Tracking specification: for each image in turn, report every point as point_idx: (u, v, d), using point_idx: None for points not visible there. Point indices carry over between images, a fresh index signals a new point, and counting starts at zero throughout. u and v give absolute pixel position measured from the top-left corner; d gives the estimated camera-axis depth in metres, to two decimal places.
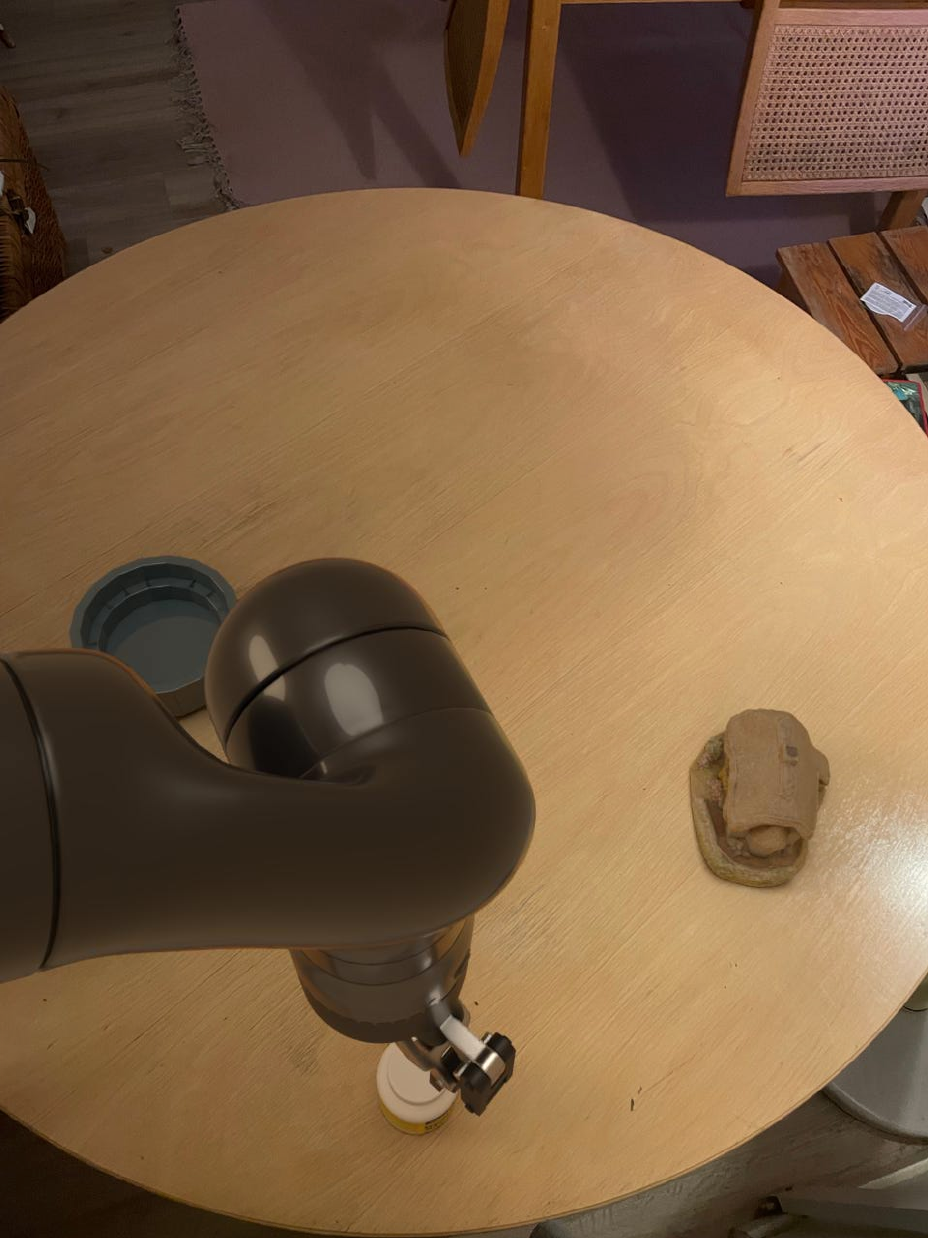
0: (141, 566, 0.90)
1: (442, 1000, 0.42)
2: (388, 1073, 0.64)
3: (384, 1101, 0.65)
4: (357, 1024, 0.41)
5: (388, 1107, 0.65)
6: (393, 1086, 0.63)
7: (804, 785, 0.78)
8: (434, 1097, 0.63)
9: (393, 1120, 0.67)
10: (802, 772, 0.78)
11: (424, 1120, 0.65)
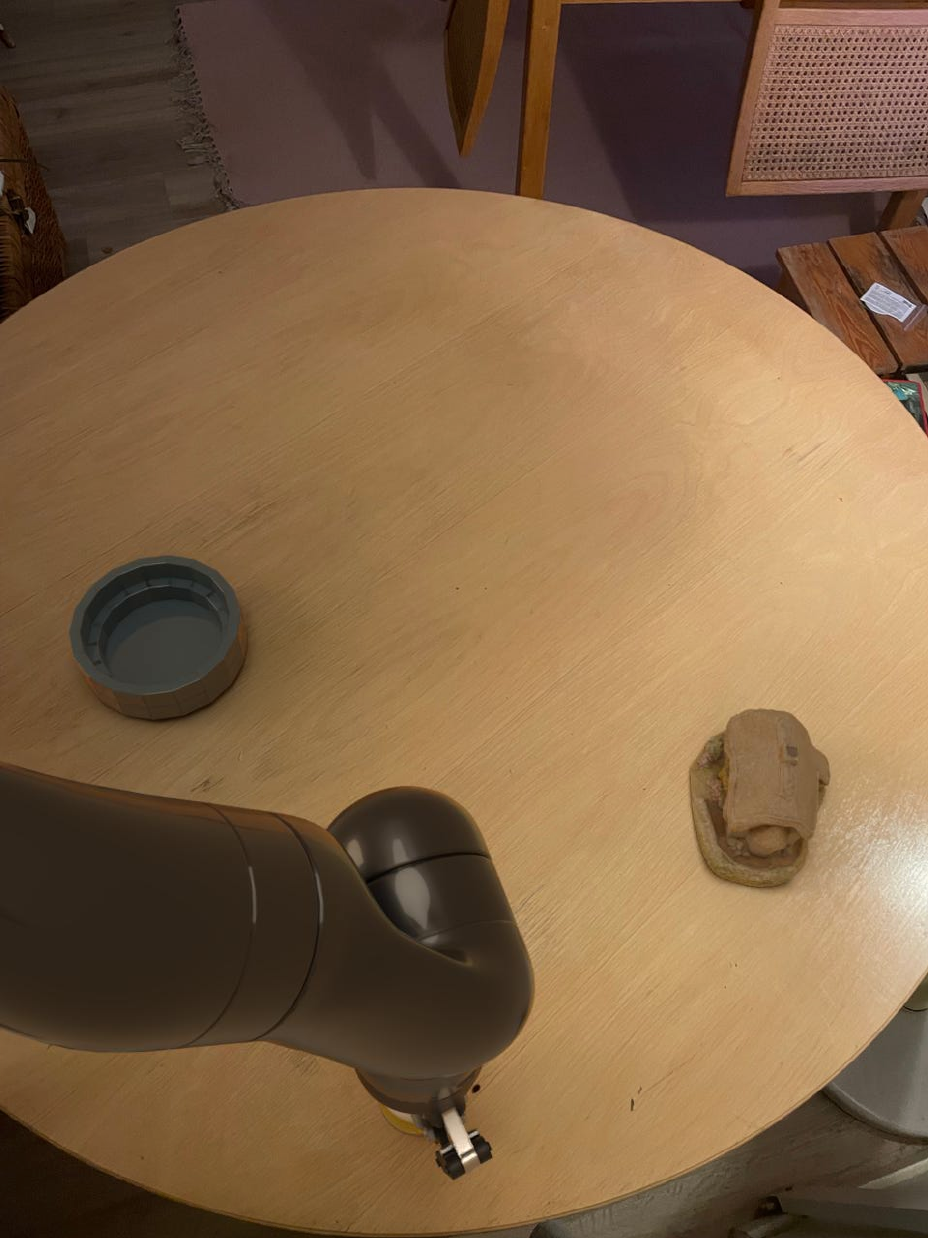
0: (141, 566, 0.90)
1: (444, 1099, 0.52)
2: None
3: None
4: (376, 1091, 0.52)
5: None
6: None
7: (804, 785, 0.78)
8: None
9: (393, 1120, 0.67)
10: (802, 772, 0.78)
11: None
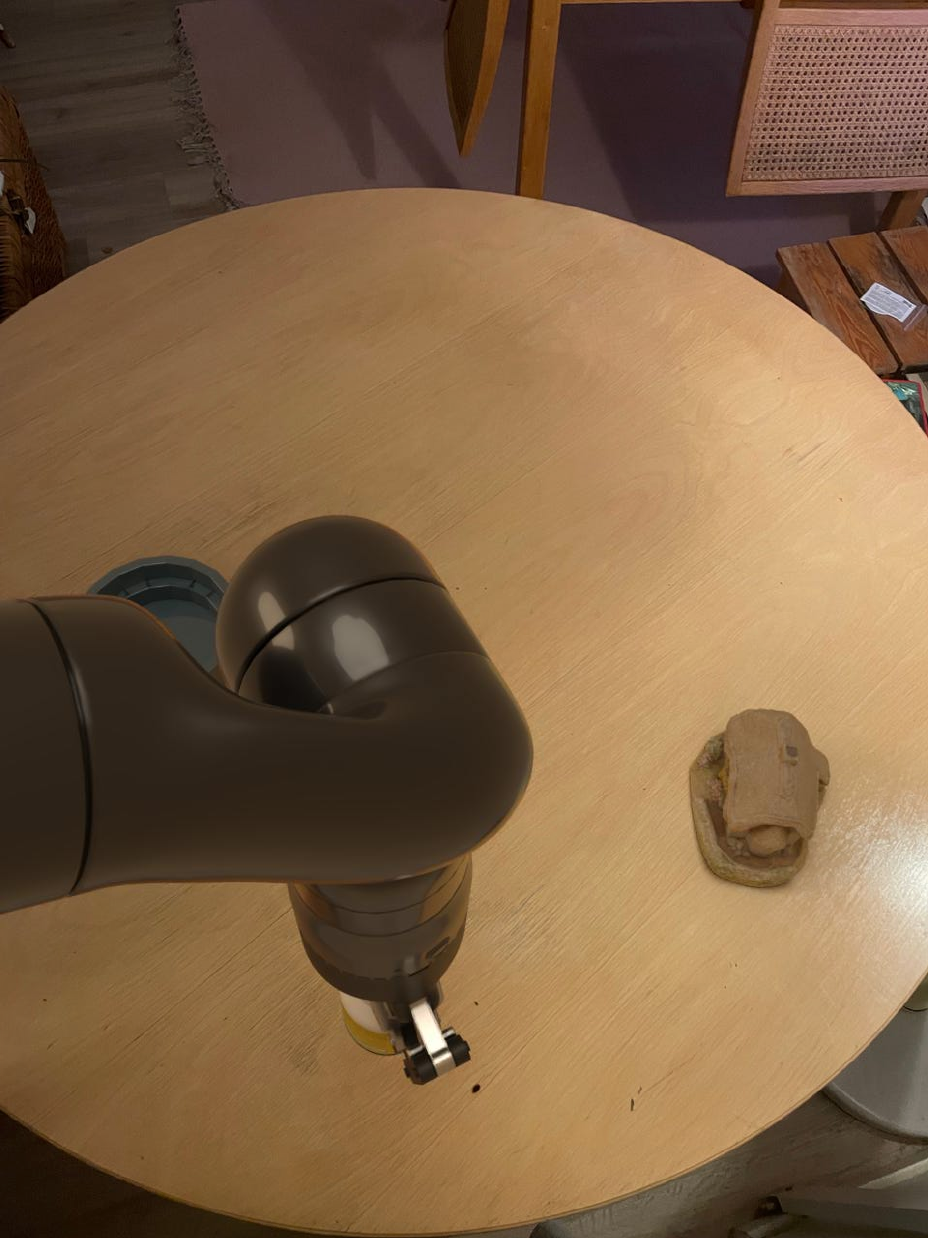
0: (141, 566, 0.90)
1: (410, 976, 0.42)
2: None
3: (347, 1007, 0.55)
4: (326, 965, 0.43)
5: (351, 1014, 0.55)
6: None
7: (804, 785, 0.78)
8: None
9: (358, 1034, 0.58)
10: (802, 772, 0.78)
11: None
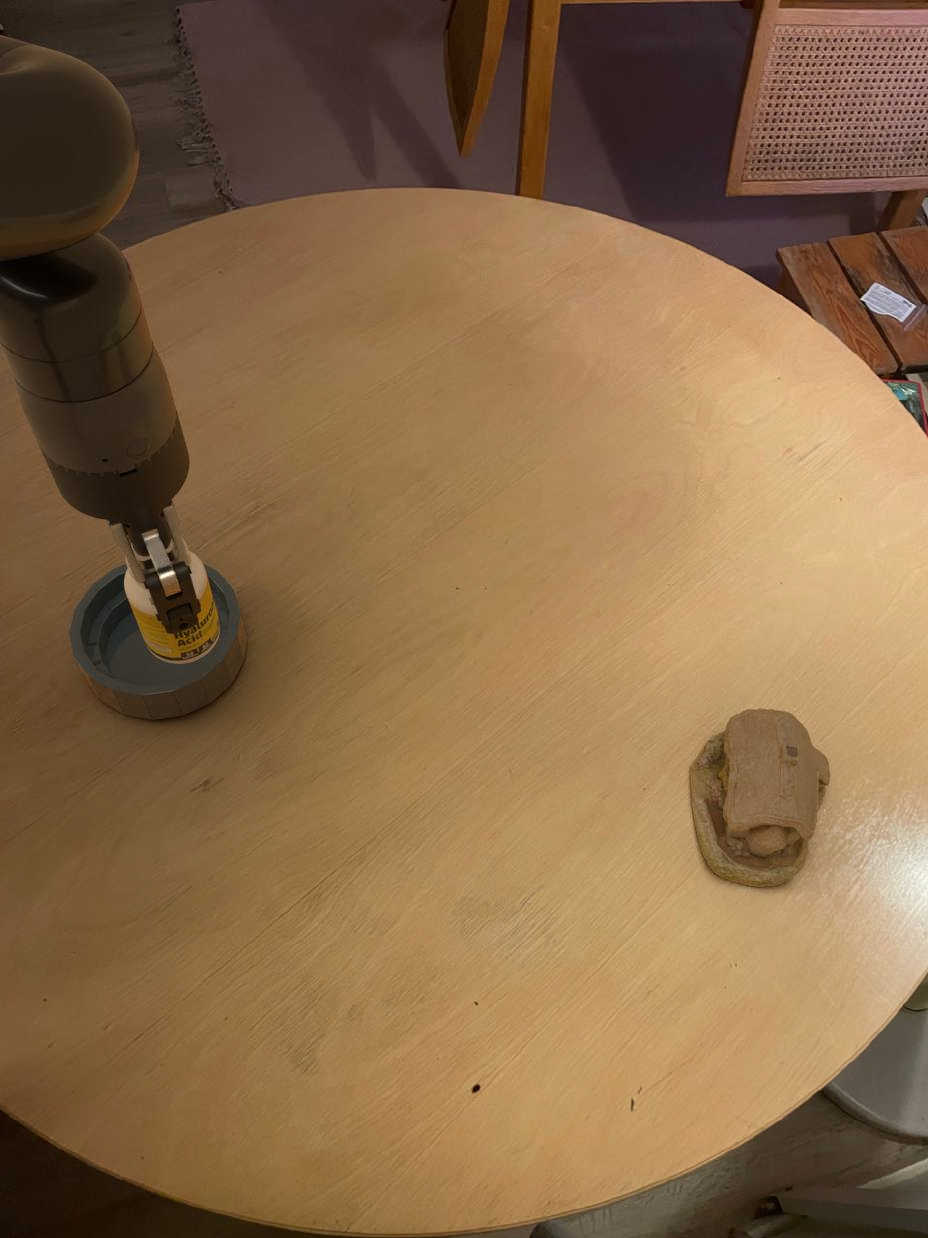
0: None
1: (122, 477, 0.55)
2: None
3: (128, 595, 0.68)
4: (58, 469, 0.55)
5: (131, 600, 0.68)
6: (129, 566, 0.66)
7: (804, 785, 0.78)
8: None
9: (145, 629, 0.70)
10: (802, 772, 0.78)
11: None
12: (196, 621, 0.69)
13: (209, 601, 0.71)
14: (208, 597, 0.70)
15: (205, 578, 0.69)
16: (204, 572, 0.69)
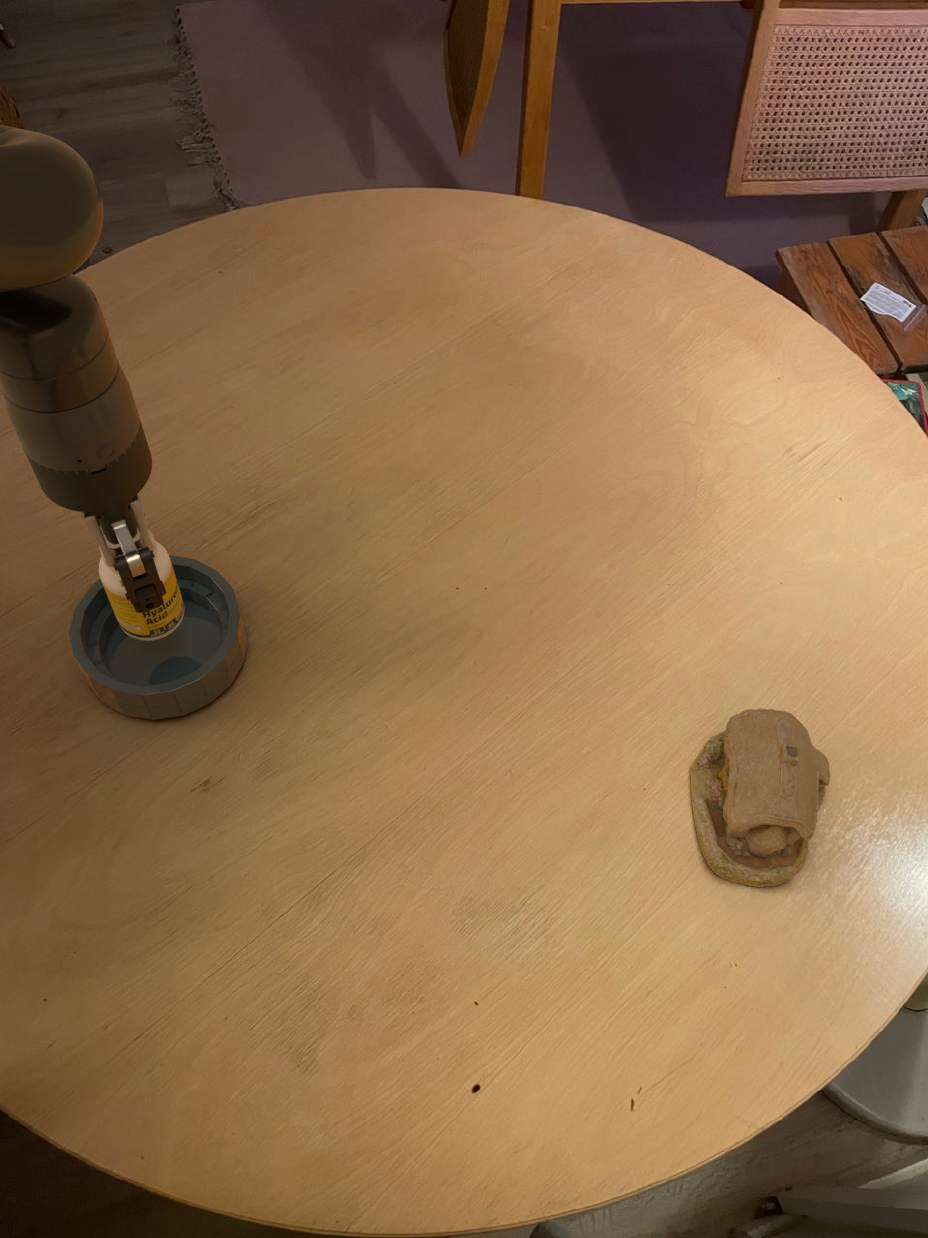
0: None
1: (94, 475, 0.66)
2: None
3: (102, 579, 0.79)
4: (40, 469, 0.66)
5: (105, 583, 0.79)
6: (102, 553, 0.77)
7: (804, 785, 0.78)
8: None
9: (117, 609, 0.81)
10: (802, 772, 0.78)
11: None
12: (161, 602, 0.79)
13: (173, 585, 0.81)
14: (172, 581, 0.81)
15: (169, 564, 0.80)
16: (168, 559, 0.80)
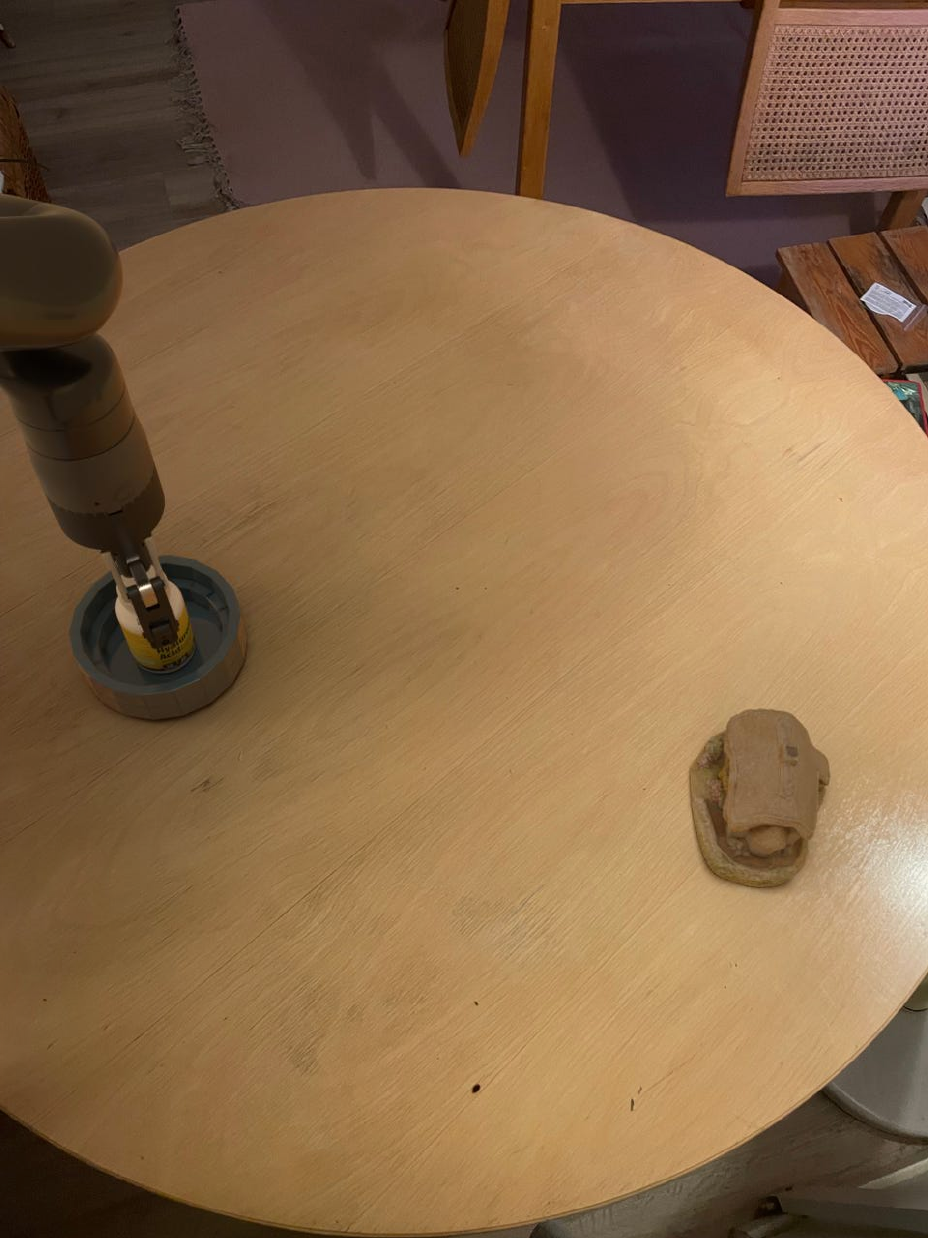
0: None
1: (111, 516, 0.69)
2: (116, 587, 0.82)
3: (118, 618, 0.83)
4: (59, 511, 0.69)
5: (121, 622, 0.83)
6: (119, 594, 0.81)
7: (804, 785, 0.78)
8: None
9: (133, 646, 0.85)
10: (802, 772, 0.78)
11: None
12: (176, 638, 0.82)
13: (185, 622, 0.86)
14: (185, 619, 0.85)
15: (182, 603, 0.84)
16: (181, 598, 0.84)
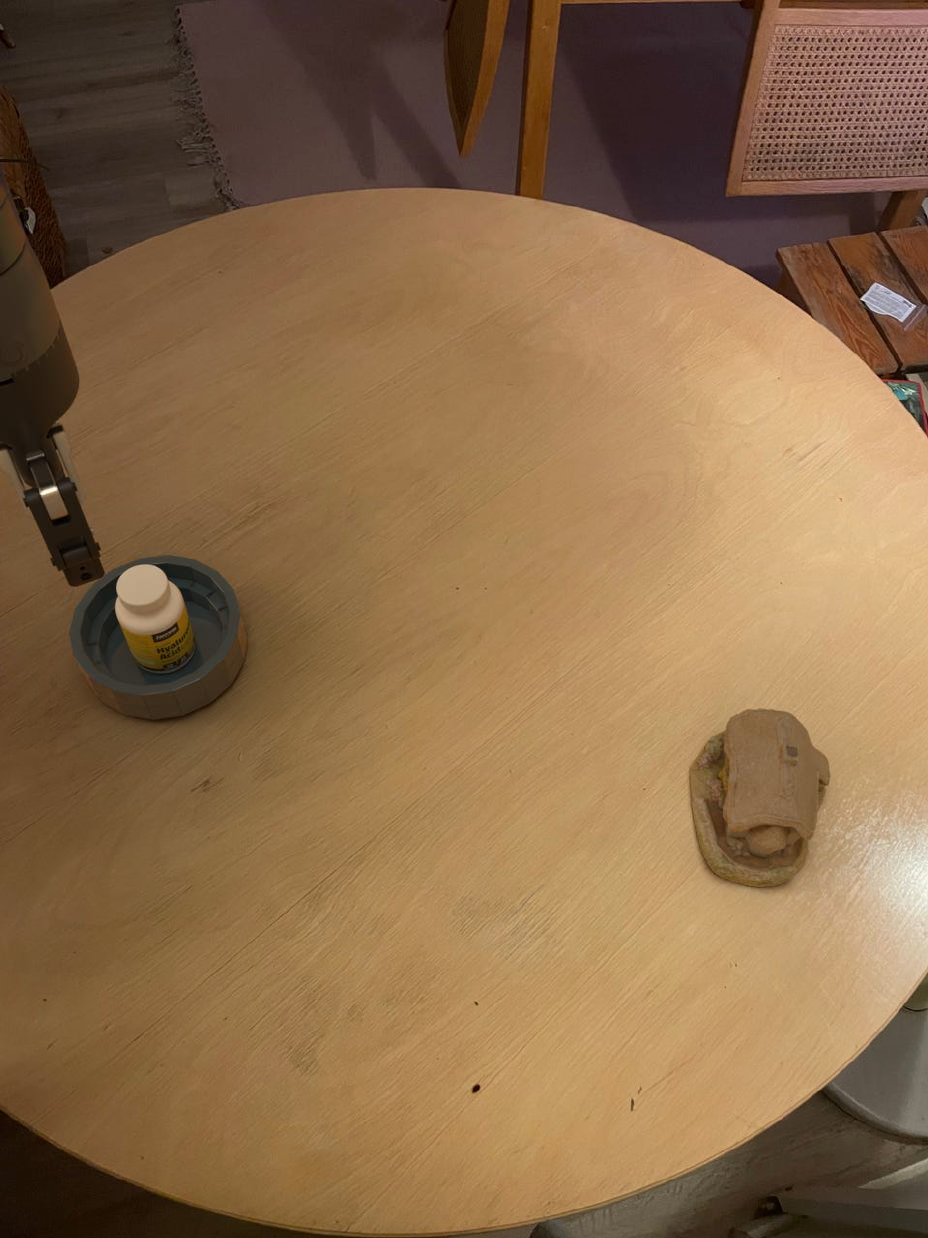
0: None
1: None
2: (116, 587, 0.82)
3: (118, 618, 0.83)
4: None
5: (121, 622, 0.83)
6: (119, 594, 0.81)
7: (804, 785, 0.78)
8: (150, 602, 0.81)
9: (133, 646, 0.85)
10: (802, 772, 0.78)
11: (149, 631, 0.83)
12: (102, 573, 0.63)
13: (185, 622, 0.86)
14: (185, 619, 0.85)
15: (182, 603, 0.84)
16: (181, 598, 0.84)
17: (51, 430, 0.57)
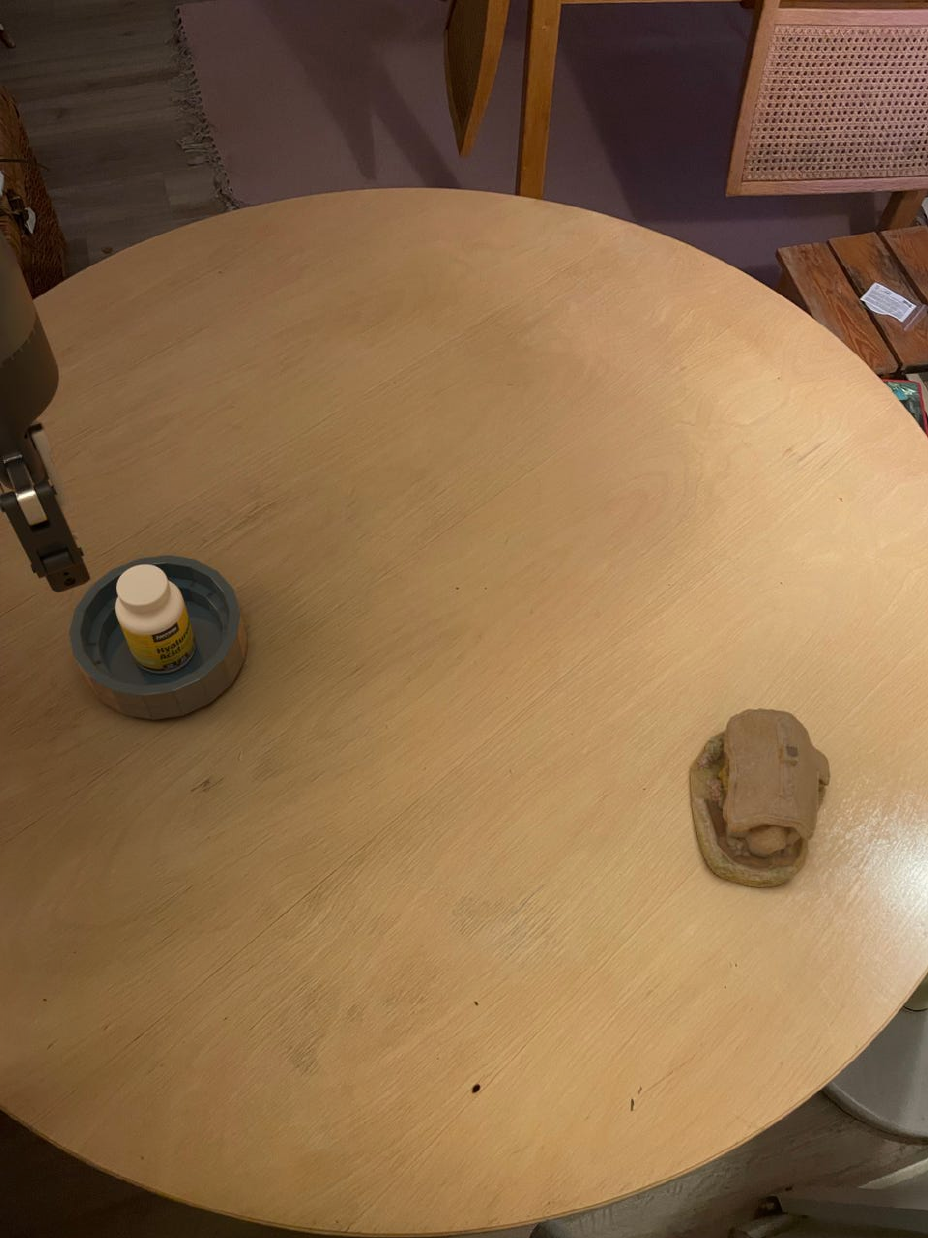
0: None
1: None
2: (116, 587, 0.82)
3: (118, 618, 0.83)
4: None
5: (121, 622, 0.83)
6: (119, 594, 0.81)
7: (804, 785, 0.78)
8: (150, 602, 0.81)
9: (133, 646, 0.85)
10: (802, 772, 0.78)
11: (149, 631, 0.83)
12: (87, 577, 0.60)
13: (185, 622, 0.86)
14: (185, 619, 0.85)
15: (182, 603, 0.84)
16: (181, 598, 0.84)
17: (30, 429, 0.54)
